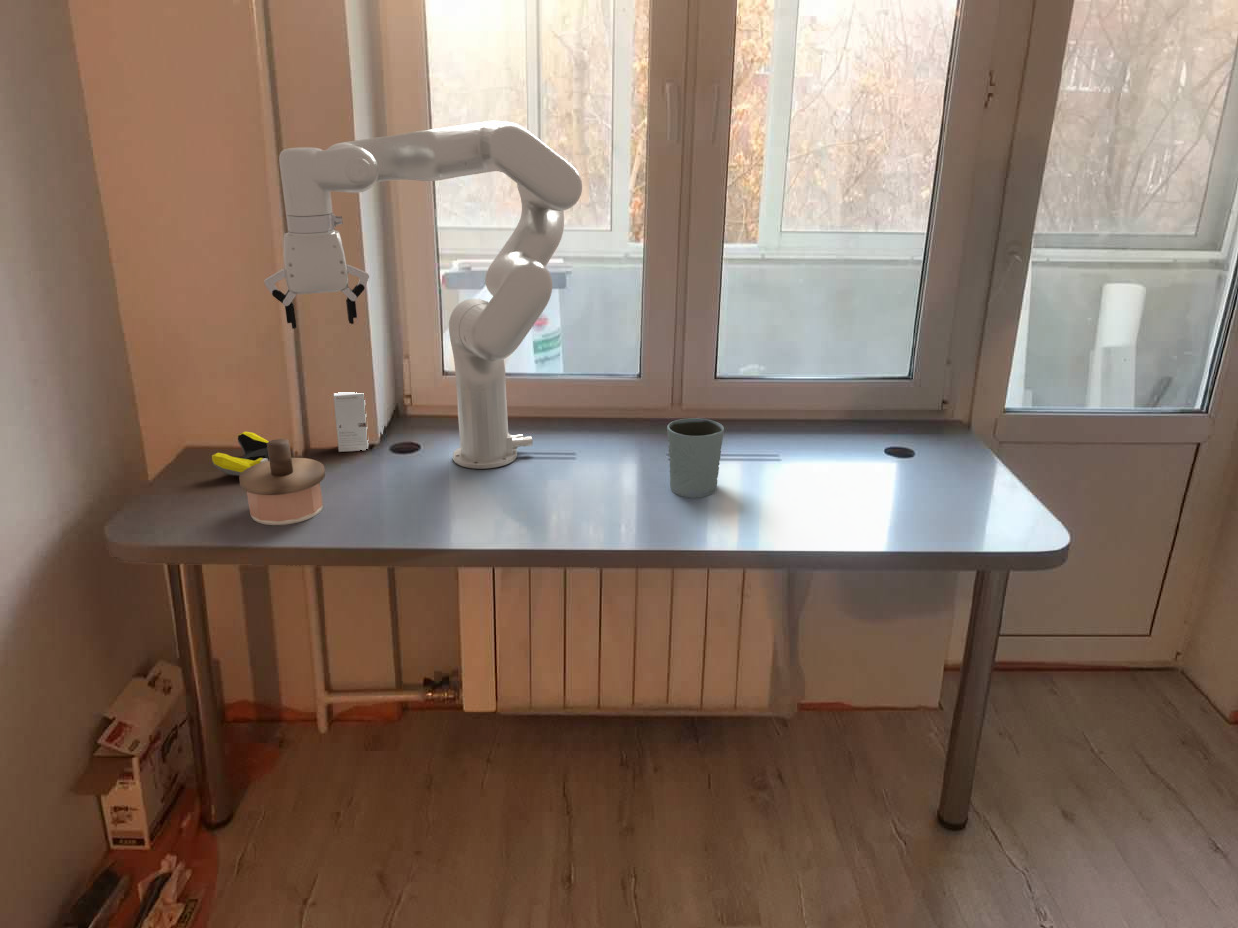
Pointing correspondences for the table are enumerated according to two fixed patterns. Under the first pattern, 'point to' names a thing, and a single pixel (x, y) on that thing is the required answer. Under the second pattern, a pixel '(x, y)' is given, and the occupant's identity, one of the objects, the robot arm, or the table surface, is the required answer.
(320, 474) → the lid
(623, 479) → the table surface
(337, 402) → the skincare box
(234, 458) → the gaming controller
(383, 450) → the table surface
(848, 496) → the table surface
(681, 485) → the grey green cup
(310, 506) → the bowl
